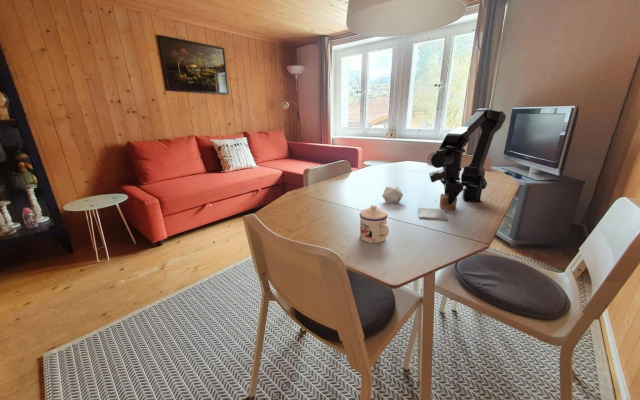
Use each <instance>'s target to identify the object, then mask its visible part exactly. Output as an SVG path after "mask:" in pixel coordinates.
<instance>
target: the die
mask: <svg viewBox="0 0 640 400" xmlns="http://www.w3.org/2000/svg"><path fill="white" fill-rule="evenodd" d="M402 192H403V191H401V189H400V188H399V186H398V185H392V186H385V188H384V192H383V194H382V195H381V196H382V198H383V199H384V201H385V203H386V205H398V204H399V203H401V199H402V198H403V197H404V194H403V193H402Z"/></svg>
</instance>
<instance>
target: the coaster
mask: <svg viewBox="0 0 640 400" xmlns="http://www.w3.org/2000/svg"><path fill="white" fill-rule="evenodd" d="M417 211H418V219H421V220H422V219H424V220H437V221H448V216H447V215H446V210H444V209H441V208H432V207H431V208H430V207H429V208H428V207H417Z"/></svg>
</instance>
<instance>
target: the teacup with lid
mask: <svg viewBox="0 0 640 400" xmlns="http://www.w3.org/2000/svg"><path fill="white" fill-rule="evenodd" d="M388 217H389V216H388V213H387V212H386V210H384V209H381V208H378V207H377V205H375V204H371V205H370V207H368V208H364V209H362V210H361V211H360V212H359V219H360V220H359V221H360V223H359V231H360V232H359V235H360V236H359V237H360V239H361V240H362V241H364V242H366V243H367V244H368V243H369V244H379V243H380V244H381V243H383V242H384V241H386V238H387V237H388V236H389V232H390V231H389V226H388V225H387V219H388Z"/></svg>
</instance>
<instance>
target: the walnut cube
mask: <svg viewBox="0 0 640 400" xmlns="http://www.w3.org/2000/svg"><path fill="white" fill-rule="evenodd" d="M457 202H458V196H457V197H456V199H455V200H454V202H453V203H452V204H449V203H448V194H445V193H440V198H439V209H444V211H451V212H452V211H453V212H455V211H456V209H457Z"/></svg>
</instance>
